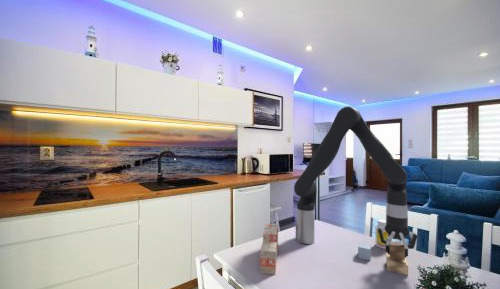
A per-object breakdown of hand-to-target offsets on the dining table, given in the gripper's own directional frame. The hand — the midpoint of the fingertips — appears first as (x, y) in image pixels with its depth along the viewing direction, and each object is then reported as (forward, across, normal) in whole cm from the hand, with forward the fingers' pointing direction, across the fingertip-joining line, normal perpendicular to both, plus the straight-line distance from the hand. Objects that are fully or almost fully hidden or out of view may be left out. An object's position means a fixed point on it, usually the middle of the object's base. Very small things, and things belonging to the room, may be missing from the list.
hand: (396, 254), depth 90 cm
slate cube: (+6, -12, +4) cm, 14 cm away
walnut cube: (0, 0, 0) cm, 0 cm away
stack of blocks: (+6, -49, -20) cm, 53 cm away
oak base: (+6, 0, 0) cm, 6 cm away
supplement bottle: (+6, -4, +20) cm, 21 cm away
